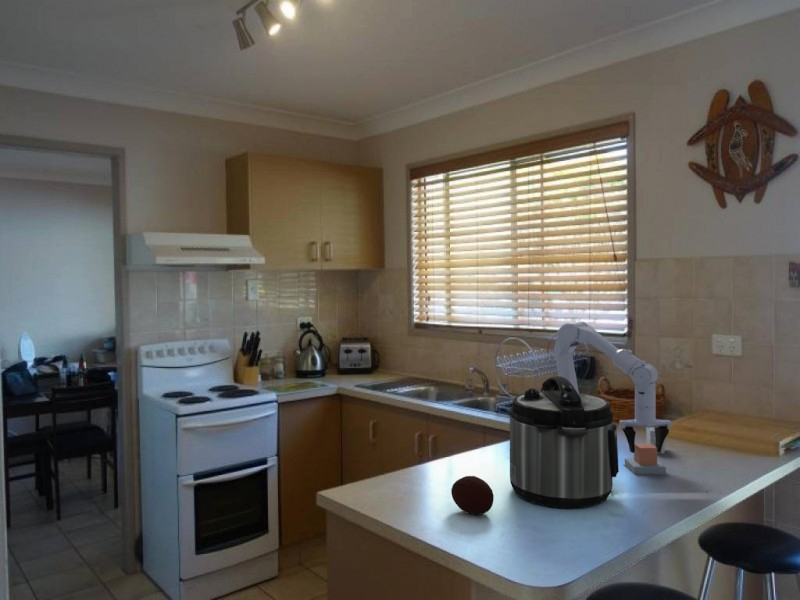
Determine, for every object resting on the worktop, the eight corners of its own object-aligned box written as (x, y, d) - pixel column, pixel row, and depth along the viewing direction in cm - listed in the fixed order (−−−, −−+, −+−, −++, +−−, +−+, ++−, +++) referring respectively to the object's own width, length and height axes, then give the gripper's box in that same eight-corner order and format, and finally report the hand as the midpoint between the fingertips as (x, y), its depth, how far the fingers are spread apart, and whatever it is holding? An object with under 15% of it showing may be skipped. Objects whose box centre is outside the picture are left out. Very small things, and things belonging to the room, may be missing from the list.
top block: (634, 474, 183) (634, 467, 183) (624, 464, 192) (624, 458, 192) (665, 474, 182) (665, 467, 182) (654, 464, 191) (654, 458, 191)
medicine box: (664, 457, 204) (664, 431, 203) (650, 457, 205) (650, 430, 204) (659, 451, 211) (659, 425, 211) (645, 450, 212) (645, 425, 212)
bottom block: (634, 481, 182) (634, 474, 182) (622, 471, 192) (622, 464, 192) (669, 481, 182) (669, 474, 182) (655, 470, 192) (655, 464, 192)
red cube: (639, 464, 185) (639, 448, 185) (634, 460, 190) (634, 443, 190) (657, 465, 185) (657, 447, 184) (651, 460, 190) (651, 443, 189)
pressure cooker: (596, 523, 151) (595, 390, 150) (489, 500, 167) (488, 381, 166) (631, 488, 175) (631, 374, 174) (536, 471, 192) (535, 367, 191)
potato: (481, 524, 151) (480, 485, 150) (443, 512, 159) (442, 475, 159) (502, 514, 157) (502, 477, 157) (464, 503, 165) (464, 467, 165)
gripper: (625, 409, 183) (625, 455, 183) (675, 408, 182) (675, 455, 183) (617, 404, 190) (617, 449, 190) (665, 403, 189) (665, 448, 190)
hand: (645, 451), depth 187 cm, fingers open, 7 cm apart
